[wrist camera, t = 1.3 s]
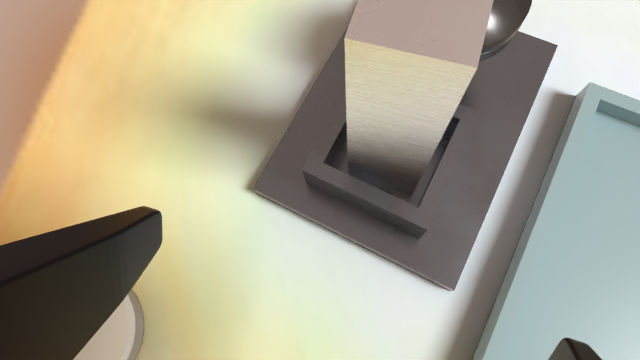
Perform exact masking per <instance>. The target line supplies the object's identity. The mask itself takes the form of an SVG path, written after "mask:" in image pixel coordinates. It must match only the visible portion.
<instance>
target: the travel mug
mask: <svg viewBox="0 0 640 360" xmlns="http://www.w3.org/2000/svg"><path fill="white" fill-rule="evenodd" d="M143 334H144V316H143V312H142V307H141V305H140V302H139V300H138V298H137V296H136V295H135V293H134V292H133V290H132V289H131V291H130V292H129V293H128V295H127V296H126V297H125V299H124V300H123V301H122V303H121V304H120V305H119V306H118V308H117V309H116V310H115V311H114V312H113V314H112V315H111V316H110V317H109V318H108V319H107V321H106V322H105V323H104V324H103V325H102V327H101V328H100V329H99V330H98V331H97V332H96V334H95V335H94V336H93V337H92V338H91V339H90V341H89V342H88V343H87V344H86V345H85V347H84V348H83V349H82V350H81V351H80V352H79V354H78V355H77V356H76V357H75V358H74V359H73V360H135V359H136V357H137V355H138V353H139V350H140V347H141V344H142V340H143Z"/></svg>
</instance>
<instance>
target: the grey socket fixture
mask: <svg viewBox="0 0 640 360" xmlns="http://www.w3.org/2000/svg"><path fill="white" fill-rule="evenodd" d="M531 3H532V0H494V1H493V5H492V9H491V13H490V17H489V22H488V26H487V30H486V34H485V38H484V42H483V47H482V51H481V55H480V59H479V63H478V67H477V70H476V72H475V74H474V75H473V77H472V79H471V81H470V83H469V85H468V87H467V89H466V91H465V93H464V95H463V97H462V99H461V101H460V103H459V105H458V107H457V109H456V111H455V113H454V114H453V116H452V118H451V120H450V122H449V124H448V126H447V128H446V130H445V132H444V134H443V136H442V138H441V140H440V142H439V144H438V146H437V148H436V150H435V151H434V153H433V155H432V157H431V159H430V161H429V163H428V165H427V167H426V169H425V171H424V173H423V175H422V177H421V179H420V181H419V183H418V185H417V187H416V189H415V190H414V192H413V194H412V196H407V195H404V194H400V193H397V192H393V191H390V190H386V189H382V188H379V187H375V186H372V185H369V184H367V183H365V182H363V181H361V180H358V179H356V178H354V177H352V176H350V175H348V159H347V120H346V81H345V42H344V38H345V35H346V32H347V29H348V28H347V29H346V31H345V33H344V34H343V36H342V38H341V39H340V41H339V43H338V45H337V46H336V48H335V50H334V51H333V53H332V55H331V57H330V58H329V60H328V62H327V63H326V65H325V67H324V68H323V70H322V72H321V74H320V75H319V77H318V79H317V80H316V82H315V84H314V86H313V87H312V89H311V91H310V92H309V94H308V96H307V97H306V99H305V101H304V103H303V104H302V106H301V108H300V109H299V111H298V113H297V114H296V116H295V118H294V120H293V121H292V123H291V125H290V126H289V128H288V130H287V132H286V133H285V135H284V137H283V138H282V140H281V142H280V143H279V145H278V147H277V149H276V150H275V152H274V154H273V155H272V157H271V159H270V161H269V162H268V164H267V166H266V167H265V169H264V171H263V172H262V174H261V176H260V178H259V179H258V181H257V183H256V184H255V186H254V188H253V190H254V191H255V192H256V193H258V194H259V195H261V196H263V197H265V198H267V199H269V200H271V201H273V202H275V203H277V204H279V205H281V206H283V207H285V208H287V209H289V210H291V211H293V212H295V213H297V214H299V215H301V216H303V217H305V218H307V219H309V220H311V221H313V222H315V223H317V224H319V225H321V226H323V227H325V228H327V229H329V230H331V231H333V232H335V233H337V234H339V235H341V236H343V237H345V238H347V239H349V240H351V241H353V242H354V243H356V244H358V245H360V246H362V247H364V248H366V249H368V250H370V251H372V252H374V253H376V254H378V255H380V256H382V257H384V258H386V259H388V260H390V261H392V262H394V263H396V264H398V265H400V266H402V267H404V268H406V269H408V270H410V271H412V272H414V273H416V274H418V275H420V276H422V277H424V278H426V279H428V280H430V281H432V282H434V283H436V284H438V285H440V286H442V287H444V288H446V289H448V290H449V291H453V290H455V287H456V285H457V283H458V280H459V278H460V275H461V273H462V271H463V268H464V266H465V264H466V261H467V259H468V257H469V254H470V252H471V249H472V247H473V245H474V242H475V240H476V238H477V235H478V233H479V231H480V228H481V226H482V223H483V221H484V219H485V216H486V214H487V212H488V209H489V207H490V204H491V202H492V200H493V197H494V195H495V193H496V190H497V188H498V186H499V183H500V181H501V178H502V176H503V174H504V171H505V169H506V167H507V164H508V162H509V160H510V157H511V155H512V152H513V150H514V148H515V145H516V143H517V141H518V138H519V136H520V133H521V131H522V129H523V126H524V124H525V122H526V119H527V117H528V115H529V112H530V110H531V107H532V105H533V103H534V100H535V98H536V96H537V93H538V91H539V88H540V86H541V84H542V81H543V79H544V77H545V74H546V72H547V70H548V67H549V65H550V62H551V60H552V58H553V55H554V53H555V51H556V48H557V46H558V45H555V44H552V43H550V42H547V41H544V40H541V39H538V38H536V37H533V36H530V35H527V34H525V33H522V32H519V31H518V29H519V28H520V26H521V24H522V23H523V21H524V19H525V17H526V16H527V14H528V12H529V9H530V7H531Z"/></svg>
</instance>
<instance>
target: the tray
mask: <svg viewBox="0 0 640 360" xmlns="http://www.w3.org/2000/svg"><path fill="white" fill-rule="evenodd" d="M563 338H571V339H575V340H578V341H581V342H584V343H586V344H588V345H589V346H590V347H591V348H592V349H593V350H594V351H595V352H596V353H597V354H598V355H599V357H600V358H601V359H602V360H640V101H639V100H637V99H634V98H631V97H628V96H626V95H623V94H620V93H618V92H615V91H612V90H610V89H607V88H604V87H601V86H599V85H596V84H593V83H591V82H590V83H589V84H588V85H587V86H586V87H585V88H584V89H583V90H582V91H581V92H579V93H578V94H577V95H576V98H575V100H574V103H573V105H572V108H571V110H570V113H569V115H568V118H567V120H566V123H565V125H564V128H563V131H562V133H561V136H560V138H559V141H558V143H557V146H556V148H555V151H554V153H553V156H552V158H551V161H550V164H549V166H548V169H547V171H546V174H545V176H544V179H543V181H542V184H541V186H540V189H539V191H538V194H537V197H536V199H535V202H534V204H533V207H532V209H531V212H530V214H529V217H528V219H527V222H526V224H525V227H524V230H523V232H522V235H521V237H520V240H519V242H518V245H517V247H516V250H515V252H514V255H513V257H512V260H511V263H510V265H509V268H508V270H507V273H506V275H505V278H504V280H503V283H502V285H501V288H500V290H499V293H498V296H497V298H496V301H495V303H494V306H493V308H492V311H491V313H490V316H489V318H488V321H487V323H486V326H485V329H484V331H483V334H482V336H481V339H480V341H479V344H478V346H477V349H476V351H475V354H474V356H473V359H472V360H548V359H549V357H550V356H551V354H552V353H553V351H554V350H555V348H556V346H557V345H558V343H559V342H560V341H561V340H562V339H563Z"/></svg>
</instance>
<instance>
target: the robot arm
mask: <svg viewBox="0 0 640 360" xmlns="http://www.w3.org/2000/svg"><path fill="white" fill-rule="evenodd" d="M161 243H162V215H161V212H160V211H158V210H156V209H153V208H150V207H146V206H142V207H138V208H134V209H131V210H127V211H123V212H120V213H116V214H112V215H109V216H105V217H102V218H98V219H94V220H91V221H87V222H84V223H80V224H76V225H73V226H69V227H66V228H62V229H58V230H55V231H51V232H48V233H44V234H40V235H37V236H33V237H29V238H26V239H22V240H19V241H15V242H11V243H8V244H4V245H1V246H0V360H73V359H74V358H75V357H76V356H77V355H78V354H79V352H80V351H81V350H82V349H83V348H84V347H85V345H86V344H87V343H88V342H89V341H90V339H91V338H92V337H93V336H94V335H95V334H96V332H97V331H98V330H99V329H100V328H101V327H102V325H103V324H104V323H105V322H106V321H107V319H108V318H109V317H110V316H111V315H112V314H113V312H114V311H115V310H116V309H117V308H118V306H119V305H120V304H121V303H122V301H123V300H124V299H125V297H126V296H127V295H128V293H129V292H130V291H131V289H132V288H133V286H134V285H135V283H136V282H137V280H138V279H139V277H140V276H141V275H142V273H143V272H144V270H145V269H146V267H147V266H148V264H149V263H150V261H151V260H152V258H153V257H154V256H155V254H156V253H157V251H158V250H159V248H160V246H161ZM548 360H602V359H601V358H600V357H599V355H598V354H597V353H596V352H595V351H594V350H593V349H592V348H591V347H590V346H589V345H588V344H586V343H584V342H581V341H578V340H575V339H571V338H563V339H562V340H561V341H560V342H559V343H558V345H557V346H556V348H555V350H554V351H553V353H552V354H551V356H550V357H549V359H548Z"/></svg>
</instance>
